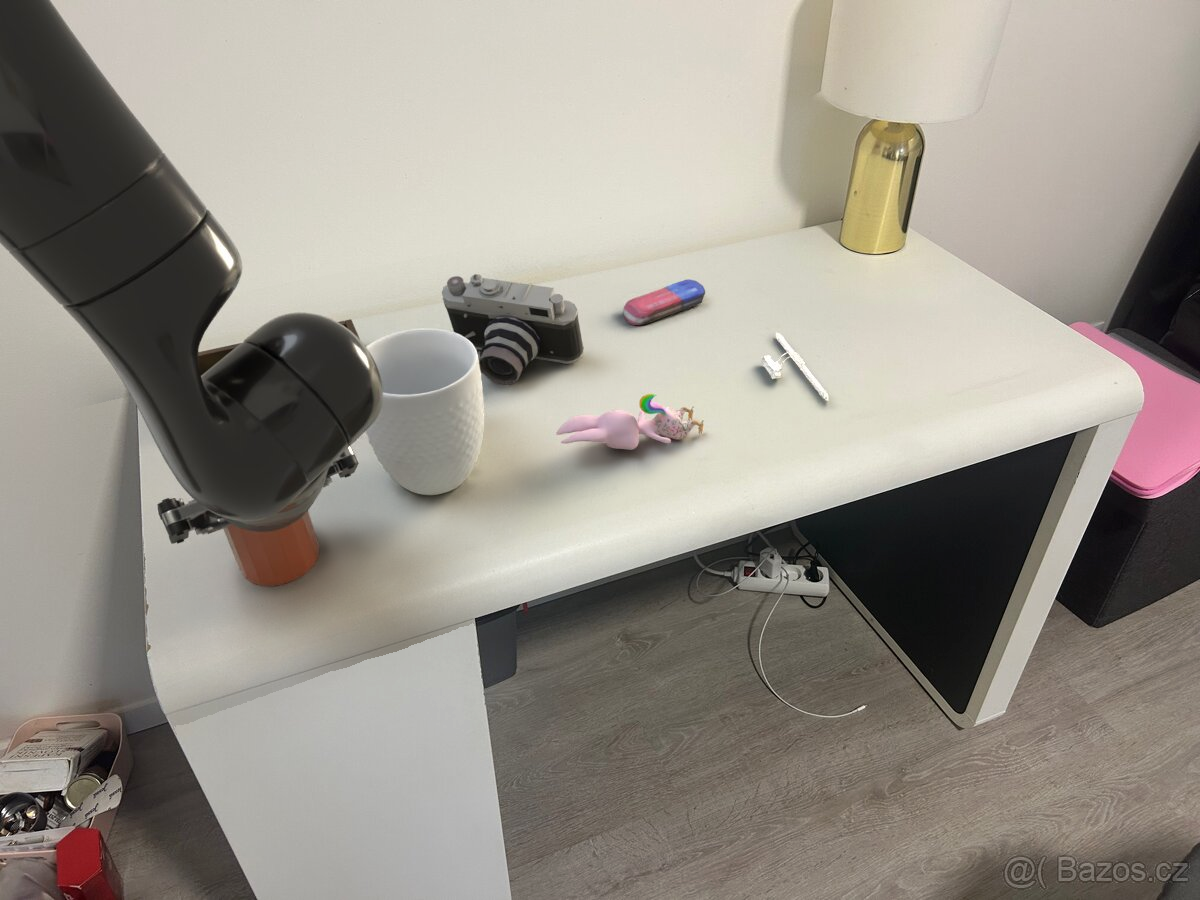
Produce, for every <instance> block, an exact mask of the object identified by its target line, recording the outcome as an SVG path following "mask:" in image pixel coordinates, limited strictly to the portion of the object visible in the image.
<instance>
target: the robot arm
mask: <svg viewBox="0 0 1200 900" xmlns="http://www.w3.org/2000/svg"><path fill="white" fill-rule="evenodd" d="M0 244H1V246H2V247H3V248H4V249H5V250H7V252H9V254H10V255H11V257H13V258H14V259H15V260H16V261H17V263H19V264H20V265H21V266H22V268H23V269H25V270H26V272H27V273H29V274H30V275H31V277H33V278H34V280H36V282H37V283H38V284H40V286H41V287H42V288H43V289H44V290H46V292H47V293H48V294H49V295H50V296H51V297H52V298H53V299H54V300H55V302H57V303H58V304H59V305H62V307H63V309H64V310H65V311H66V312H67V313H68V314H69V315H70V316H71V317H72V318H73V320H74V321H75V322H77V324H78V325H79V326H80V327H81V328H82V329H83V331H85V333H86V334H87V335H88V336H89V337H90V339H91V340H92V341H93V342H94V343H95V345H96V346H97V348H98V349H99V350H100V351H101V353H102V354H103V355H104V357H105V359H106V360H107V361H108V362H109V364H110V365H111V367H112V368H113V370H114V371H115V372H116V374H117V376H118V377H119V379H120V380H121V382H122V383H123V386H124V387H125V388H126V390H127V391H128V393H129V395H130V397H131V399H132V401H133V402H134V404H135V406H136V408H137V409H138V411H139V413H140V415H141V417H142V418H143V421H144V423H145V425H146V427H147V429H148V431H149V433H150V435H151V437H152V438H153V441H154V443H155V444H156V446H157V448H158V450H159V452H160V454H161V456H162V458H163V460H164V461H165V463H166V465H167V466H168V468H169V469H170V471H171V473H172V474H173V476H174V478H175V479H176V481H177V482H178V484H179V485H180V486H181V487H182V489H183V490H184V491H185V492H186V493H187V494H188V495H189V497H191V498H192V500H189V501H188V502H187V503H185V502H184V499H183V498H182V497H179V498H176V497H172V498H170V497H166V498H164V499H162V500H161V502H158V503H157V514H158V515H159V519H160V520H161V521H162V524H163V526H164V528H165V530H166V532H167V534H168V539H169V541H170V543H171V545H173V544H177V545H178V544H181V543H184V542H185V540H187V539H188V538H189V534H190V532H191V531H195V534H196V535H197V536H199V535H202V536H204V535H210V534H213V533H215V532H217V531H221V530H223V529H225V528H228V527H231V526H233V525H234V526H237V527H239V528H242V529H245V530H249V531H255V532H268V531H275V530H279V529H282V528H285V527H287V526H289V525H291V524H293V523H294V522H296V521H297V520H299V519H300V518H301V517H302V516H303V515H304V514H305V513H306V512H307V511H309V510H310V509H311V507H312V506H313V504H314V503H315V501H316V500H317V499H318V496H319V495H320V494H321V492H322V490H323V488H326V487H328V486H330V484H331V483H333V479H332V476H335V475H337V474H338V476H339V478H340V479H342V478H349V477H351V476H352V474H354V473H355V472H356V470H357V468H358V466H359V463H360V462H359V461H358V458H357V457H356V454H355V452H354V449H353V447H352V445H353V444H354V443H355V442H356V441H357V440H359V438H360V437H362V435H364V433H366V430H367V429H368V428H369V427H370V426H371V425H372V424H373V423H374V422H375V421H376V419H377V417H378V415H379V413H380V410H381V407H382V400H383V388H382V382H381V377H380V373H379V370H378V368H377V365H376V363H375V361H374V359H373V357H372V355H371V354H370V352H369V351H368V349H367V348H366V346H367V345H365V344H364V342H363V341H362V340H361V339H359V338H360V337H359V338H358V337H357V336H356V335H355V334H353V333H352V332H351V331H350V330H349V329H347V328H346V327H345V326H343V325H341V324H340V323H338V322H339V321H336V320H334V319H333V318H330V317H327V316H324V315H322V314H317V313H312V312H305V311H304V312H301V311H300V312H290V313H284V314H281V315H278V316H276V317H274V318H272V319H270V320H268V321H267V322H265V323H264V324H262V325H261V326H260V327H258V328H257V329H256V330H255V331H253V332H252V333H251V334H250V335H248V336H247V337H246V338H245V339H244V340H243V341H242V342H240V343H241V344H240V345H238V346H237V347H236V348H235V349H234V350H232V351H231V352H230V353H229V354H227V355H226V356H225V357H224V358H223V359H221V360H220V361H219V362H218V363H216V364H215V365H214V366H213V367H211V368H210V369H209V370H208V371H207V372H205V373H204V374H203V375H202V376H201V375H200V369H199V360H198V352H199V350H200V349H199V348H200V344H201V343H202V340H203V338H204V335H205V333H206V332H207V330H208V328H209V327H210V325H211V323H212V322H213V320H214V319H215V318H216V316H217V315H218V313H220V311H221V309H223V307H224V306H225V304H226V303H227V301H228V300H229V299H230V298H231V296H232V294H233V293H234V291H235V290H236V289H237V287H238V284H239V282H240V280H241V278H242V274H243V269H244V268H243V266H244V265H243V261H242V257H241V254H240V252H239V250H238V248H237V246H236V245H235V242H234V241H233V240H232V239H231V237H230V235H229V234H228V233H227V231H226V230H225V228H224V227H223V226H222V225H221V223H220V222H219V221H218V220H217V219H216V217H215V216H214V215H213V213H211V211H210V210H209V209H208V208H207V206H206V204H205V203H204V202H203V201H202V199H201V198H200V197H199V195H198V194H197V193H196V191H195V190H194V189H193V188H192V186H191V185H190V184H189V183H188V181H187V180H186V179H185V177H184V176H183V175H182V173H181V172H180V171H179V170H178V169H177V168H176V166H175V165H174V163H173V162H172V161H171V160H170V159H169V157H168V156H167V154H166V153H165V152H164V151H163V150H162V148H161V147H160V145H158V143H157V142H156V140H155V139H154V138H153V136H151V135H150V133H149V132H148V131H147V129H146V128H145V127H144V126H143V125H142V123H141V122H140V121H139V119H138V118H137V117H136V116H135V115H134V113H133V112H132V110H130V108H129V107H128V105H127V104H126V103H125V102H124V100H123V98H122V97H121V96H120V95H119V94H118V92H117V91H116V90H115V88H114V87H113V86H112V85H111V83H110V82H109V80H108V79H107V78H106V77H105V75H104V73H103V72H102V71H101V69H100V68H99V67H98V65H97V64H96V63H95V61H94V60H93V59H92V57H91V56H90V54H89V53H88V52H87V50H86V49H85V48H84V47H83V45H82V44H81V42H80V41H79V39H78V37H76V35H75V34H74V32H73V31H72V29H71V28H70V26H69V25H68V24H67V22H66V21H65V19H64V18H63V17H62V15H61V14H60V12H59V11H58V9H57V8H56V6H55V5H54V3H53V2H52V1H51V0H0Z"/></svg>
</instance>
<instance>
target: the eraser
mask: <svg viewBox="0 0 1200 900" xmlns="http://www.w3.org/2000/svg"><path fill="white" fill-rule="evenodd" d="M705 294H706V289H705V286H704V285H703V284H702V283H700V282H698V281H696V280H693V279H684V280H681V281H677V282H675V283H672V284H670V285H667V286H664V287H662V288H660V289H657V290H654V291H651V292H648V293H645V294H642V295H640V296H636V297H634V298H631V299H629V300H627V301H626V303H625V304H624V306H623V310H622V311H623V312H622V313H623V316H624V320H625V321H626V322H627V323H629V324H630V325H633V326H640V325H646V324H649V323H653V322H656V321H658V320H660V319H663V318H666V317H668V316H671V315H673V314H676V313H679V312H681V311H684V310H686V309H689V308H691V307H692V308H693V307H695V306H697V305H700V304H702V303H703V301H704V298H705Z"/></svg>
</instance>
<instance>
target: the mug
mask: <svg viewBox="0 0 1200 900" xmlns="http://www.w3.org/2000/svg"><path fill="white" fill-rule="evenodd" d="M365 346H366V348H367V349H368V351H369V352H370V354H371V355H372V357H373V359H374V361H375V363H376V365H377V368H378V370H379V373H380V377H381V382H382V388H383V400H382V407H381V410H380V413H379V415H378V417H377V419H376V421H375V422H374V423H373V424H372V425H371V426H370V427H369V428H368V429H367V430H366V431H365V434H366V436H367V438H368V442H369V444H370V447H371V448H372V451H373V453H374V455H375V456H376V458H377V460H378V462H379V463H380V465H381V466H382V468H383V469H384V471H385V472H386V473H387V474H388V475H389V477H390V478H391V479H392V480H394V482H396V483H397V484H398V485H400V486H401V487H403V489H406V490H407V491H409V492H412V493H414V494H418V495H422V496H438V495H442V494H445V493H449V492H451V491H453V490H455V489H457V488H458V487H460V486H461V485H462V484H463V483H464V482H465V481H466V480H467V479H468V478H469V477H470V475H471V474H472V472H473V470H474V468H475V466H476V464H477V461H478V460H479V456H480V452H481V451H482V450H481V449H482V444H483V443H482V442H483V439H484V436H483V435H484V431H485V427H484V425H485V406H484V394H483V393H484V392H483V382H482V373H481V371H480V367H479V360H480V359H479V355H478V351H477V350H478V349H476V348H475V347H474V345H473V344H472V343H471V342H470V341H469V340H468V339H466V338H465V337H463V336H461V335H460V334H457V333H455V332H454V331H451V330H447V329H441V328H428V327H427V328H426V327H425V328H423V327H422V328H421V327H420V328H412V329H406V330H400V331H396V332H393V333H389V334H387V335H385V336H382V337H379V338H378V339H376V340H373V341H372V342H371V343H369V344H367V345H365Z"/></svg>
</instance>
